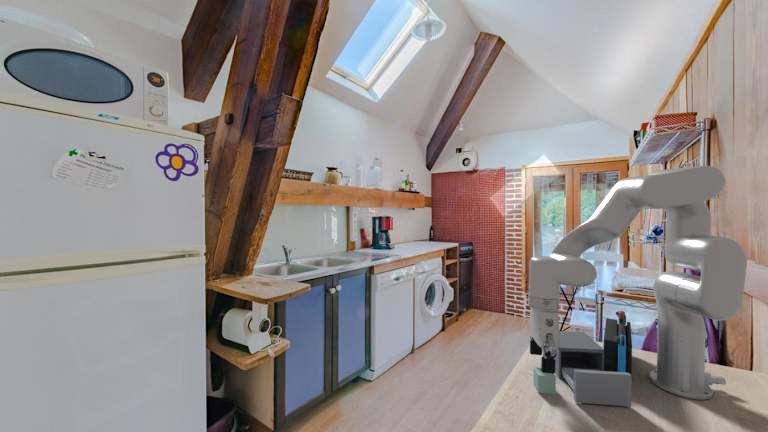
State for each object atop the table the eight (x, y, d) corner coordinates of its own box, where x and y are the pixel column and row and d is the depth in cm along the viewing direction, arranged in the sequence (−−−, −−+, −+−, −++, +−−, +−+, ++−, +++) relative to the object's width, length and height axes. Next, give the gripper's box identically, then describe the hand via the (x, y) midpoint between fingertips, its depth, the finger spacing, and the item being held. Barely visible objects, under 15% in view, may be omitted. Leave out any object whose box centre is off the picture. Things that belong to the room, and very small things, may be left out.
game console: (631, 394, 82) (632, 341, 81) (602, 386, 86) (603, 335, 85) (629, 352, 104) (630, 310, 104) (606, 347, 108) (606, 306, 107)
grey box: (603, 381, 88) (604, 349, 88) (558, 378, 90) (558, 347, 90) (583, 359, 100) (584, 332, 100) (544, 357, 102) (544, 330, 102)
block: (550, 385, 87) (550, 368, 87) (555, 394, 83) (555, 376, 83) (533, 384, 88) (533, 367, 87) (538, 393, 84) (538, 375, 84)
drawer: (631, 406, 77) (631, 375, 76) (576, 402, 79) (576, 371, 78) (603, 377, 89) (603, 350, 89) (556, 374, 91) (556, 348, 91)
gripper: (572, 314, 75) (569, 382, 76) (546, 293, 92) (545, 349, 93) (539, 312, 76) (537, 379, 77) (520, 292, 93) (518, 347, 94)
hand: (541, 362), depth 85 cm, fingers open, 9 cm apart
